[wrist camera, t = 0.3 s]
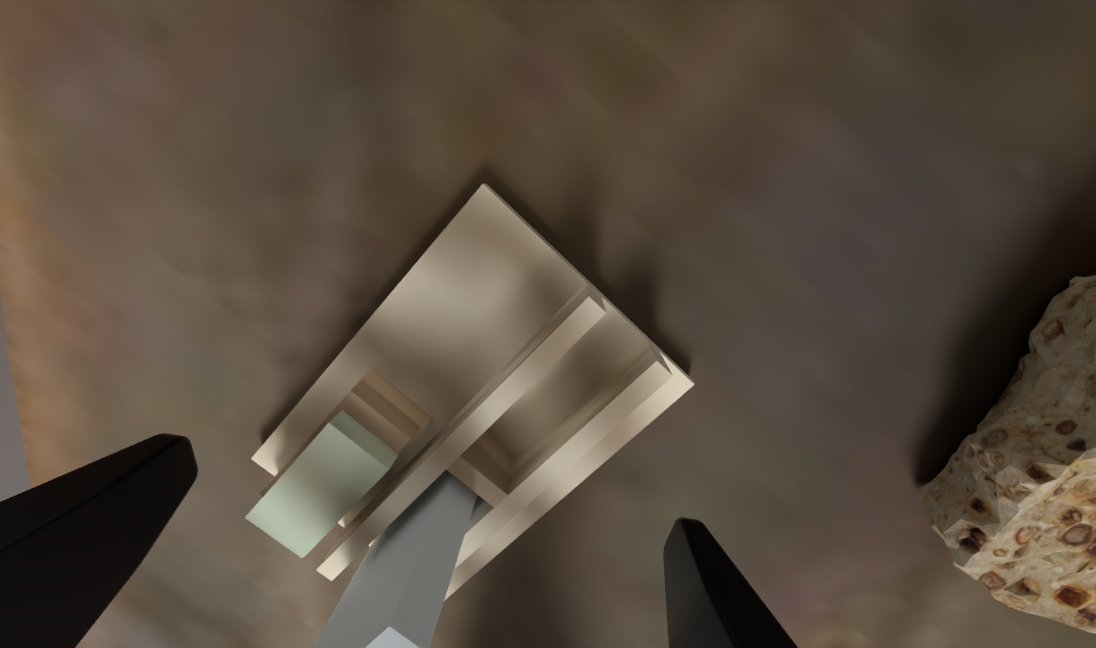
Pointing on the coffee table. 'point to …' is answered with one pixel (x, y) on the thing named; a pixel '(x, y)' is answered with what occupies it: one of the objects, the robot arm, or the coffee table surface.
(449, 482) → the sheet
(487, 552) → the rack
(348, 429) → the offcut stack
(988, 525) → the rock
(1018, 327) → the coffee table surface
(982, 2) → the coffee table surface
